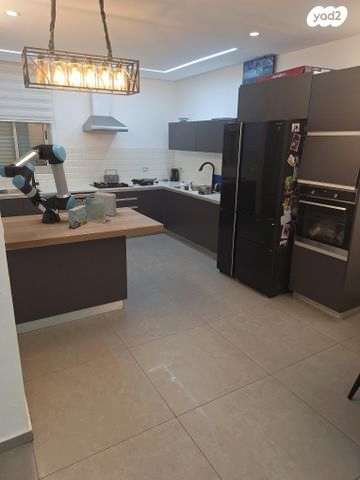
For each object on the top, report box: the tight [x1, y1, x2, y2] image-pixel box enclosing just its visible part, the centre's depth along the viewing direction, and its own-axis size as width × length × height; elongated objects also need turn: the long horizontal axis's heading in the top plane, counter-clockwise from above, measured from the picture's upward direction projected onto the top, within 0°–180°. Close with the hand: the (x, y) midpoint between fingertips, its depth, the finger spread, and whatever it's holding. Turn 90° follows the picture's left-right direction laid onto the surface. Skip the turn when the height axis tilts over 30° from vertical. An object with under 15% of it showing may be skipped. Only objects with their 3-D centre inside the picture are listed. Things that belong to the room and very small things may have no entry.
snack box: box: [67, 204, 88, 230], centre depth 266 cm, size 21×6×15 cm, turn 168°
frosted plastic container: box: [85, 197, 111, 224], centre depth 281 cm, size 18×9×20 cm, turn 66°
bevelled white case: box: [93, 191, 117, 217], centre depth 303 cm, size 21×8×20 cm, turn 65°
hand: (51, 211), depth 239 cm, fingers open, 11 cm apart
